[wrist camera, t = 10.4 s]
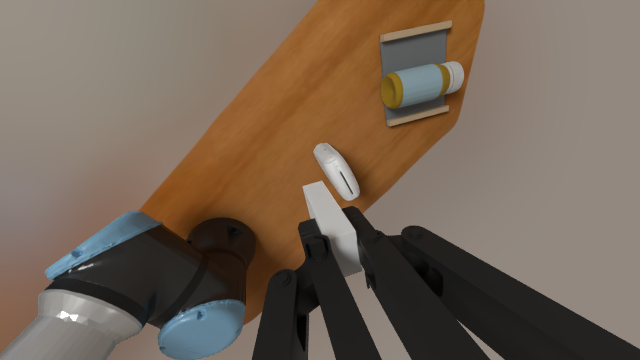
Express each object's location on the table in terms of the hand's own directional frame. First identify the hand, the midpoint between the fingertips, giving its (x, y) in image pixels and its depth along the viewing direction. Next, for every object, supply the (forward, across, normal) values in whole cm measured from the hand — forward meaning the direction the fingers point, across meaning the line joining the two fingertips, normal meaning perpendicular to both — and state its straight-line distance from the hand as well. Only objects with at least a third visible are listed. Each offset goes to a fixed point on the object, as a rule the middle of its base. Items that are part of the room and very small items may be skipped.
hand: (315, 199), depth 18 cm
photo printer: (+35, +9, -11) cm, 37 cm away
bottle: (+30, +23, +2) cm, 38 cm away
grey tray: (+34, +32, +3) cm, 47 cm away
